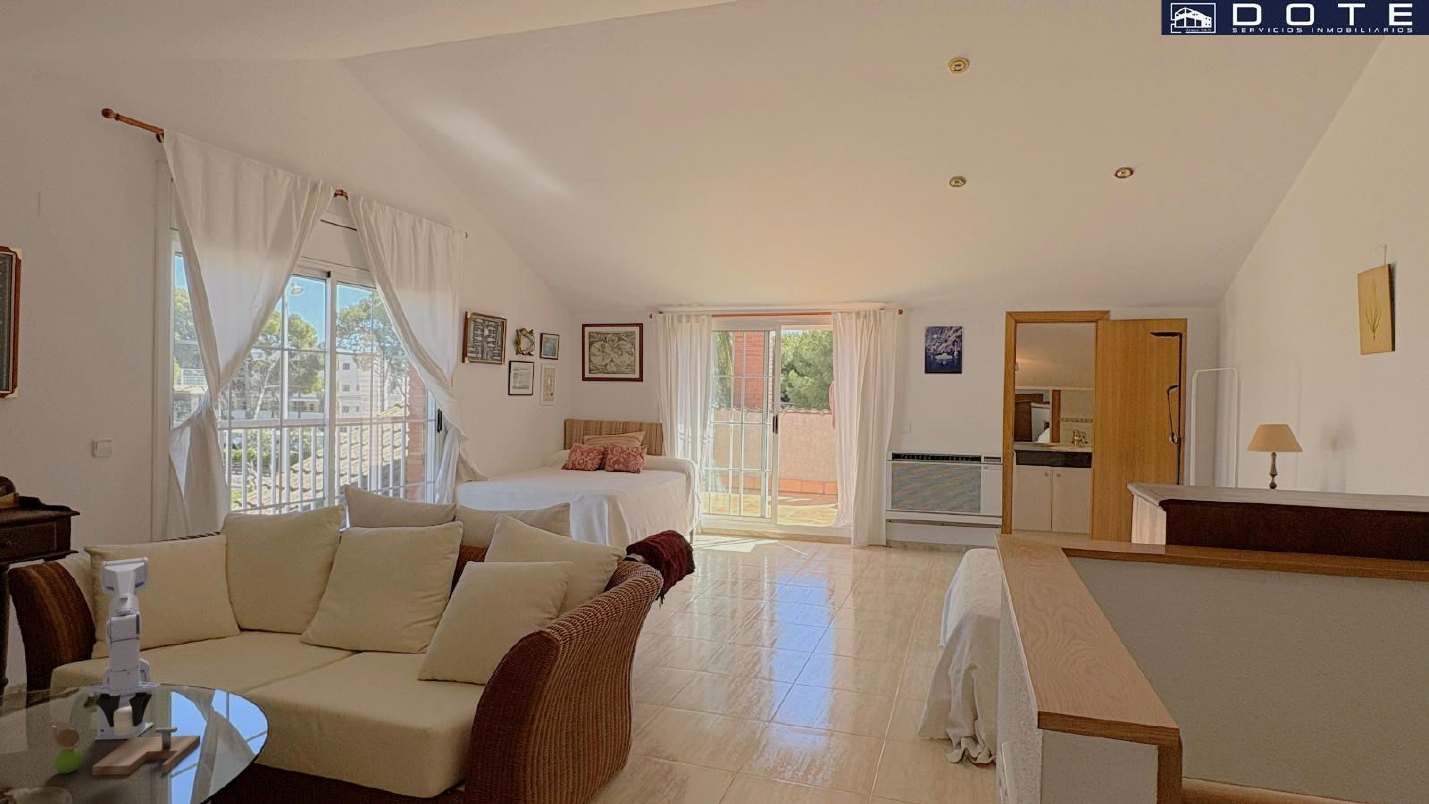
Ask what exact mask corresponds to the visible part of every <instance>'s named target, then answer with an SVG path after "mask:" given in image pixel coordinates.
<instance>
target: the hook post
mask: <svg viewBox="0 0 1429 804" xmlns="http://www.w3.org/2000/svg"><path fill="white" fill-rule="evenodd" d="M154 732H155V734H157V733H158V734H159V733H160V734H161V737H162V749H163V750H166V749H169V748H171V736H172V733H176V732H178V727H177V726H176V727H175V726H173V727H172V726H170V727H169V726H167V727H156V728H155V731H154Z"/></svg>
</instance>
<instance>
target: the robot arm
mask: <svg viewBox="0 0 1429 804" xmlns="http://www.w3.org/2000/svg"><path fill="white" fill-rule="evenodd" d="M99 569H100V570H99V575H100V585H101V590H102V591H103V594H105V595H109V596H110V595H111V596H112V598H111V599H110V601H109V603H108V604H109V605H108V620H106V622H105V640H106V643H107V645H106V646H107V652H108V666H106V668H105V669H104V671H103V674H102V684H94V685H92V686H90V687H89V688H88V697H96V696H99V698H98V699H96V705H97V706H98V708H97V710H96V731H97V732H96V734H97V735H96V737H95V738H94V740H98V741H99V740H126V739H127V740H128V739H130V738H131V737H140V735H141V734H144V732H145V731H147V730H148V729H150V728H151V727H152V726H154V722H146V709H147V706H148V704H149V702H150V701H151V698H152V696H156V695H159V694H160V693H161V692H162V683H158V682H157V683H154V682H152V678H151V667H150V666H151V665H150V663H149V661H147V660H146V659H143V658H141V656H140V653H141V652H140V648H141V647H140V645H141V644H140V639H141V638H142V637H141V636H142V616H141V614H140V613H141V612H140V600H139V597H138V595H139V593H140V592H141V591H143V590H145V589H147V587H148V585H149V578H150V577H149V575H150V573H149V558H148V557H147V556H143V557H138V558H137V557H136V558H130V559H129V558H128V559H120V560H119V559H117V560H111V561H106V560H105V561H104V560H103V561H102V562H101V563H100V568H99ZM128 706H131V708H132V713H133V726H138V730H137V731H136V732H134V733H131V734H128V735H124V736H116V735H114V720H113V716H114V711H116V710H117V709H120V708H123V707H128Z"/></svg>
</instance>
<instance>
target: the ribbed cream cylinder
mask: <svg viewBox="0 0 1429 804" xmlns="http://www.w3.org/2000/svg"><path fill="white" fill-rule="evenodd" d="M113 720H114V735H116V736H124V735H128V734H131V733H134V732H136V731H137V730H138V726H133V713H132V708H131V706H128V707H123V708H120V709H117V710H116V711H114V716H113Z"/></svg>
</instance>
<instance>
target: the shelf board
mask: <svg viewBox="0 0 1429 804" xmlns="http://www.w3.org/2000/svg"><path fill="white" fill-rule="evenodd" d="M200 744H201V735H171V748H169V749H166V750H163V749H162V736H138V737H131V738H130V739H127V740H126V741H125V742H123V743H121V744H120V745H119V746H117V748H115V749H114V750H112V751H111V752H110V753H109V754H106V756H105V757H103V758H102V759H100V760H99V761H97V762H96V763H95V764H93V766H92V776H101V775H103V776H104V775H106V776H107V775H130V774H132V773H133V772H134V771H135V770H137V769H138V768H139V767H140V766H141V765H143V764H144V763H145V762H147V761H148V760H150V761H151V760H165V762H163V763H162V764H161V767H162V768H161V771H162V774H167V773H168V772H170V771H171V770H172V769H173V768H174V767H175V766H176V765H178V764H179V763H180V762H181V761H182V760H183V759H185V758H186V757H187V756H188V755H189V754H190V753H191V752H192V751H193V750H195V749H196V748H197V747H199V745H200Z"/></svg>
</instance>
